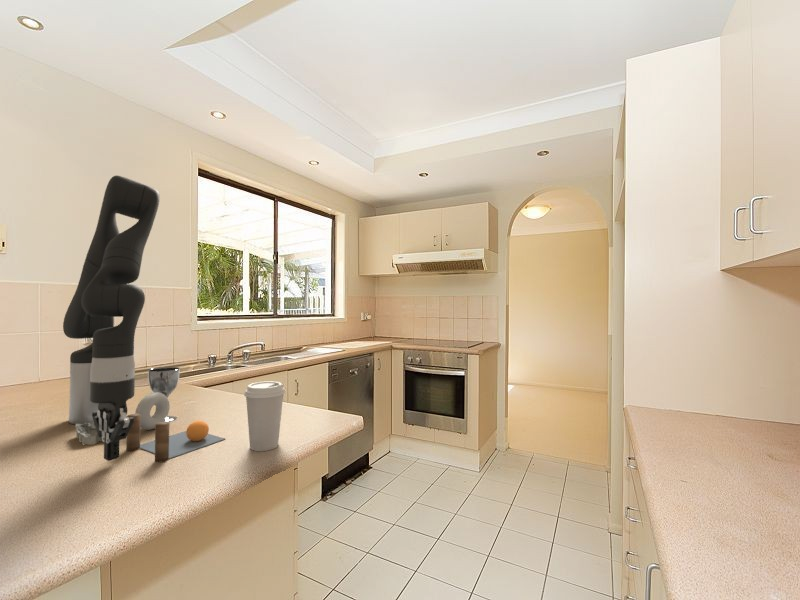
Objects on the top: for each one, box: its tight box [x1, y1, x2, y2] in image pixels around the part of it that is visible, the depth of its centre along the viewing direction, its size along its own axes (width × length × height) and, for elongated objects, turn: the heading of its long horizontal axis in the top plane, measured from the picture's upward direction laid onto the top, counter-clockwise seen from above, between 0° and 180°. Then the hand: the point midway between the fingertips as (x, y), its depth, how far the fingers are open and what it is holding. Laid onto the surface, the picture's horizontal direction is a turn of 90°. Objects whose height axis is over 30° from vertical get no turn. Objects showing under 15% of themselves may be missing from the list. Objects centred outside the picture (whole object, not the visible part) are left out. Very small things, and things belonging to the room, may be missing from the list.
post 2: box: [154, 422, 170, 463], centre depth 82 cm, size 3×3×8 cm
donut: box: [134, 392, 171, 431], centre depth 102 cm, size 10×4×10 cm, turn 170°
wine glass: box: [147, 366, 181, 423], centre depth 110 cm, size 8×8×15 cm
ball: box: [185, 420, 210, 441], centre depth 93 cm, size 5×5×5 cm
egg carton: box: [75, 422, 103, 445], centre depth 95 cm, size 11×8×4 cm
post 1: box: [125, 413, 141, 452], centre depth 88 cm, size 3×3×8 cm
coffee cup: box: [243, 380, 286, 452], centre depth 91 cm, size 10×10×15 cm
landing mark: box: [139, 430, 226, 460], centre depth 92 cm, size 14×14×1 cm
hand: (111, 458), depth 79 cm, fingers closed
